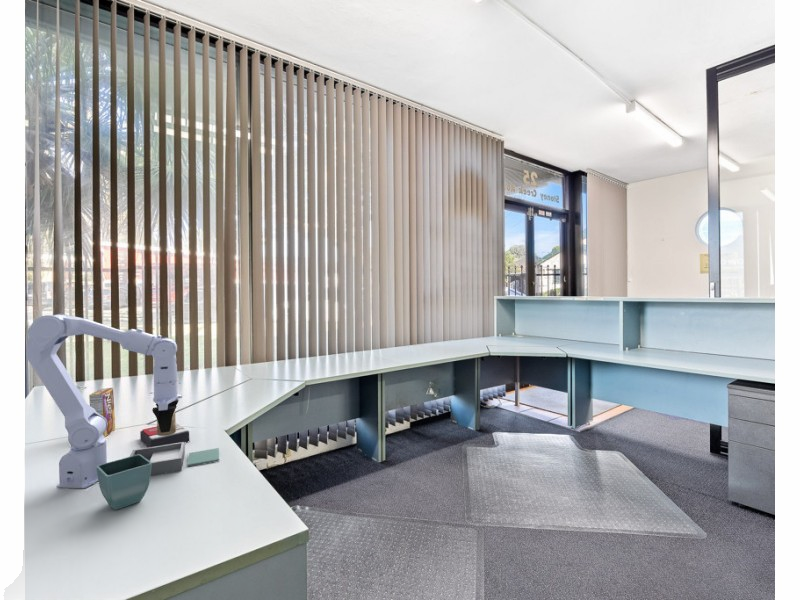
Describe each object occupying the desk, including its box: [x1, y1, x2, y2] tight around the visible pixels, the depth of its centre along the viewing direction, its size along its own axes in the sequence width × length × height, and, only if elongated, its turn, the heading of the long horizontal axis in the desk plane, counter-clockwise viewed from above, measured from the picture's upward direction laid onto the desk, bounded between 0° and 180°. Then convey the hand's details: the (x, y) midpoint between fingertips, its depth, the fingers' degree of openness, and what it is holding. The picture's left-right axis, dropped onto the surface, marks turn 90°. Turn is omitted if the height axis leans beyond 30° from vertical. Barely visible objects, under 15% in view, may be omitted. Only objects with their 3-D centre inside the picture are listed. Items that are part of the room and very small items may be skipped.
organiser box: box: [129, 442, 186, 478], centre depth 107 cm, size 13×13×4 cm
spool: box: [156, 410, 177, 436], centre depth 108 cm, size 4×4×6 cm
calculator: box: [139, 422, 190, 448], centre depth 127 cm, size 11×4×15 cm
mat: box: [186, 447, 220, 468], centre depth 112 cm, size 8×9×1 cm
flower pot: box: [96, 454, 152, 511], centre depth 88 cm, size 9×9×9 cm
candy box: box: [88, 387, 116, 438], centre depth 133 cm, size 9×4×15 cm, turn 17°
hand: (166, 429), depth 108 cm, fingers closed on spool, 4 cm apart
